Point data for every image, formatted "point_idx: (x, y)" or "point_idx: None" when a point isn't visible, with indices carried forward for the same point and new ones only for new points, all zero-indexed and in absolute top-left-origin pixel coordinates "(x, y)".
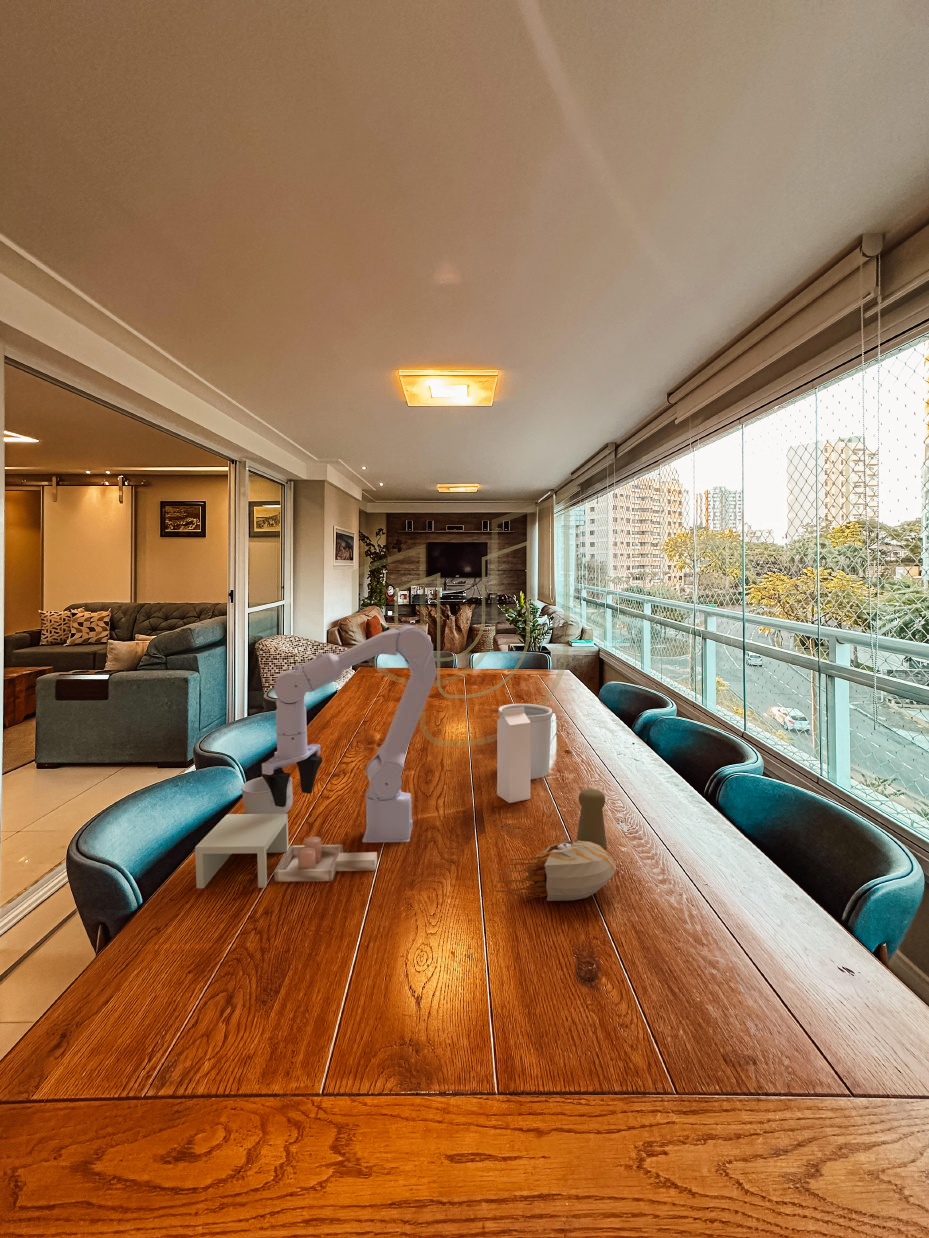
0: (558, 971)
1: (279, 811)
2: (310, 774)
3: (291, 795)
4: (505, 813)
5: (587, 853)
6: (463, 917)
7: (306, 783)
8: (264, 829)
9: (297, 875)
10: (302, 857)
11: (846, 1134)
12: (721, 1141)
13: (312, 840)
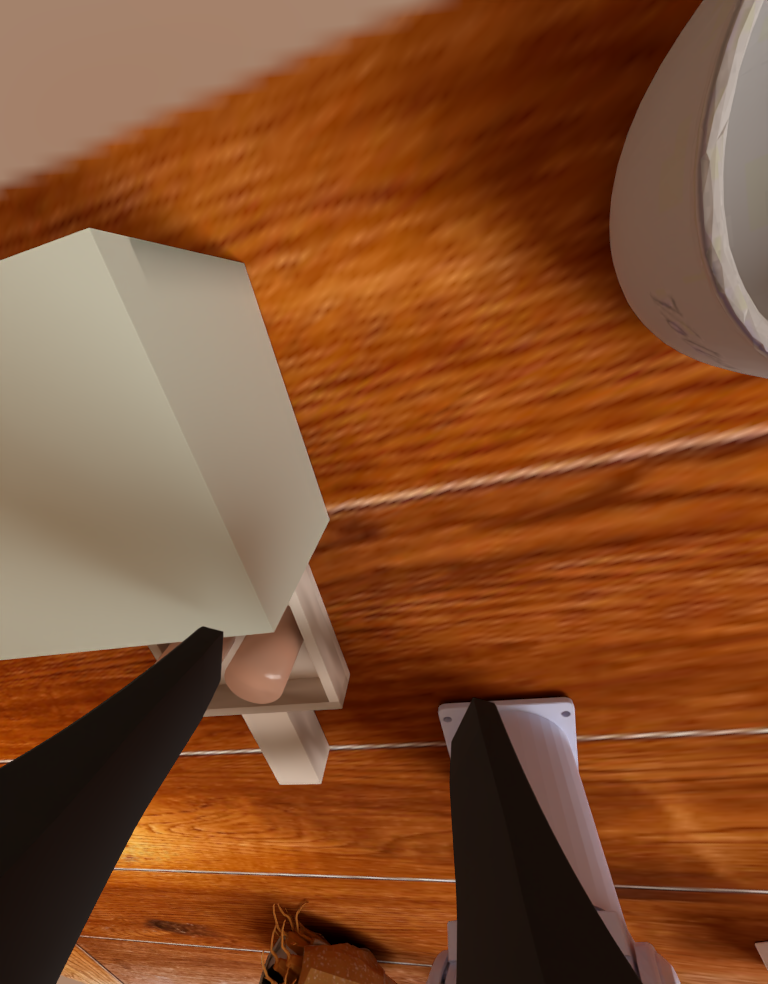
0: (155, 911)
1: (660, 338)
2: (463, 944)
3: None
4: (674, 929)
5: None
6: (208, 856)
7: (467, 804)
8: (64, 605)
9: None
10: None
11: (93, 976)
12: None
13: (251, 681)
